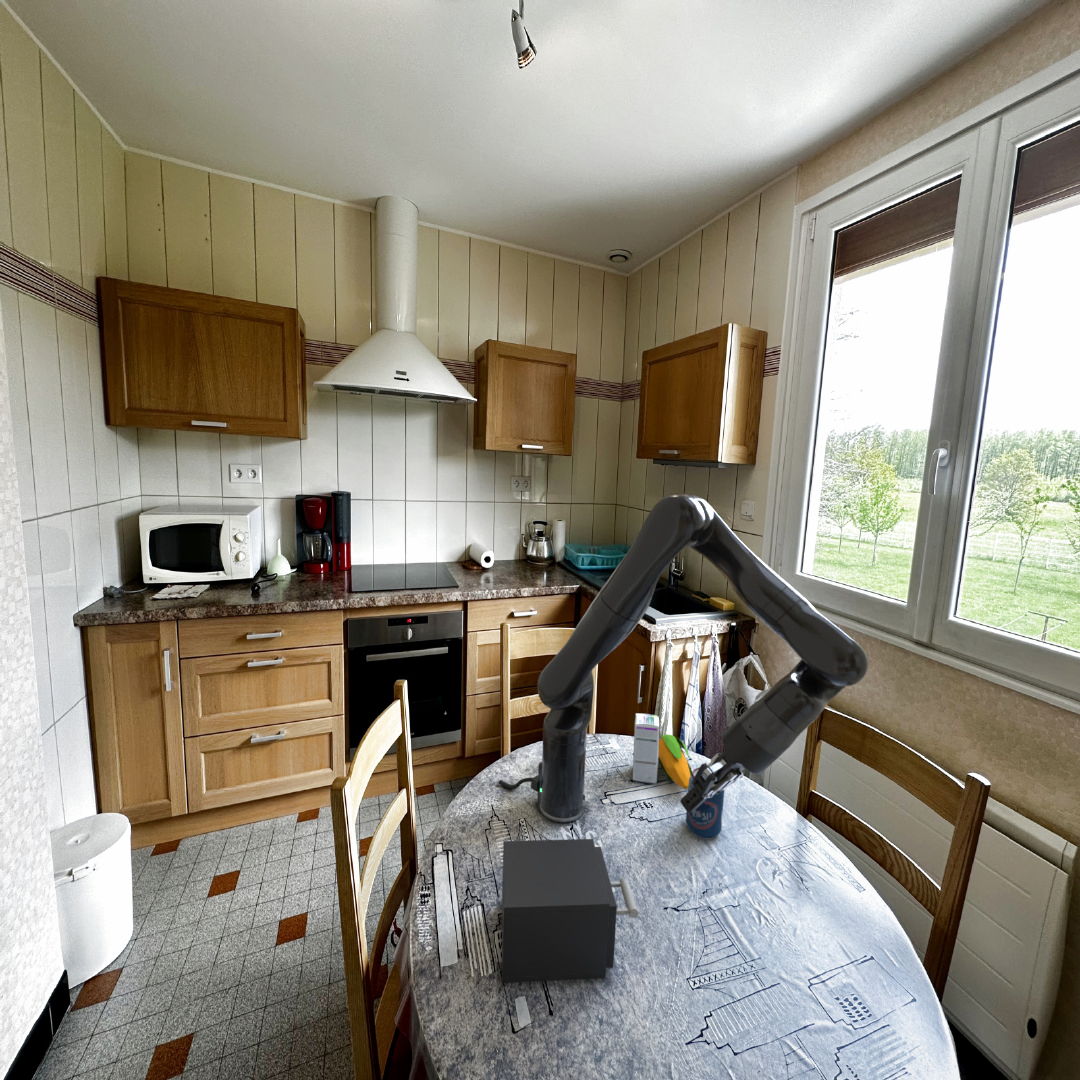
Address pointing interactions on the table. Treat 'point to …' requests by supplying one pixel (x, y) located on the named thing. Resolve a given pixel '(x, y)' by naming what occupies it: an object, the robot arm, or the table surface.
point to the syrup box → (646, 748)
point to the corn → (674, 760)
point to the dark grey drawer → (613, 908)
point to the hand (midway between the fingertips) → (685, 806)
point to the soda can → (706, 815)
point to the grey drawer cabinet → (553, 911)
